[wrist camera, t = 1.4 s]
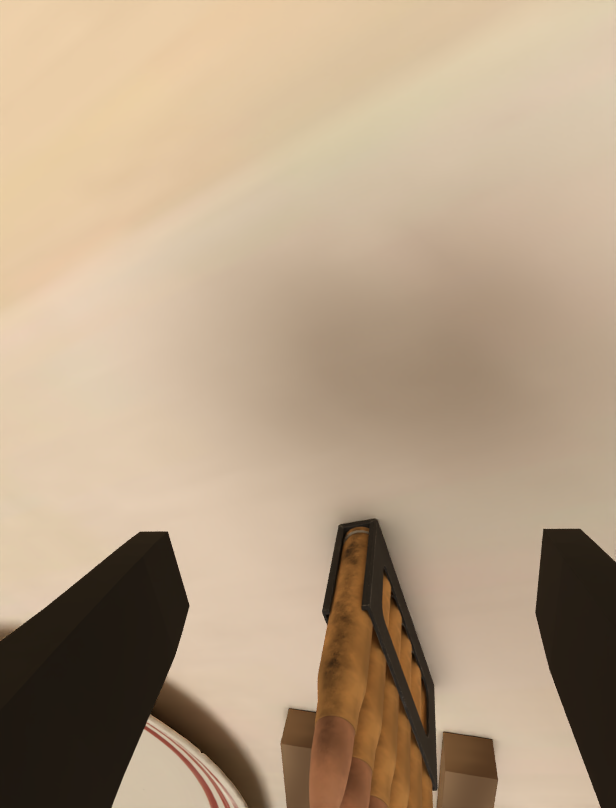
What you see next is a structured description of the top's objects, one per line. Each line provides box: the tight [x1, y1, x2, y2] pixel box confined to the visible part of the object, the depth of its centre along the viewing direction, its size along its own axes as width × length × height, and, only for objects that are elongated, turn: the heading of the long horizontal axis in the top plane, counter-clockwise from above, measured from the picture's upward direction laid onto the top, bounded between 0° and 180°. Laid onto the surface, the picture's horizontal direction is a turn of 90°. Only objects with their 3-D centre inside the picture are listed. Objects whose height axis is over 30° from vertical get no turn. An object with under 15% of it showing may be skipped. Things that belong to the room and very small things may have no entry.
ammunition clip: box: [309, 519, 438, 808], centre depth 19 cm, size 11×2×12 cm, turn 19°
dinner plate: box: [112, 714, 249, 808], centre depth 34 cm, size 28×27×3 cm
